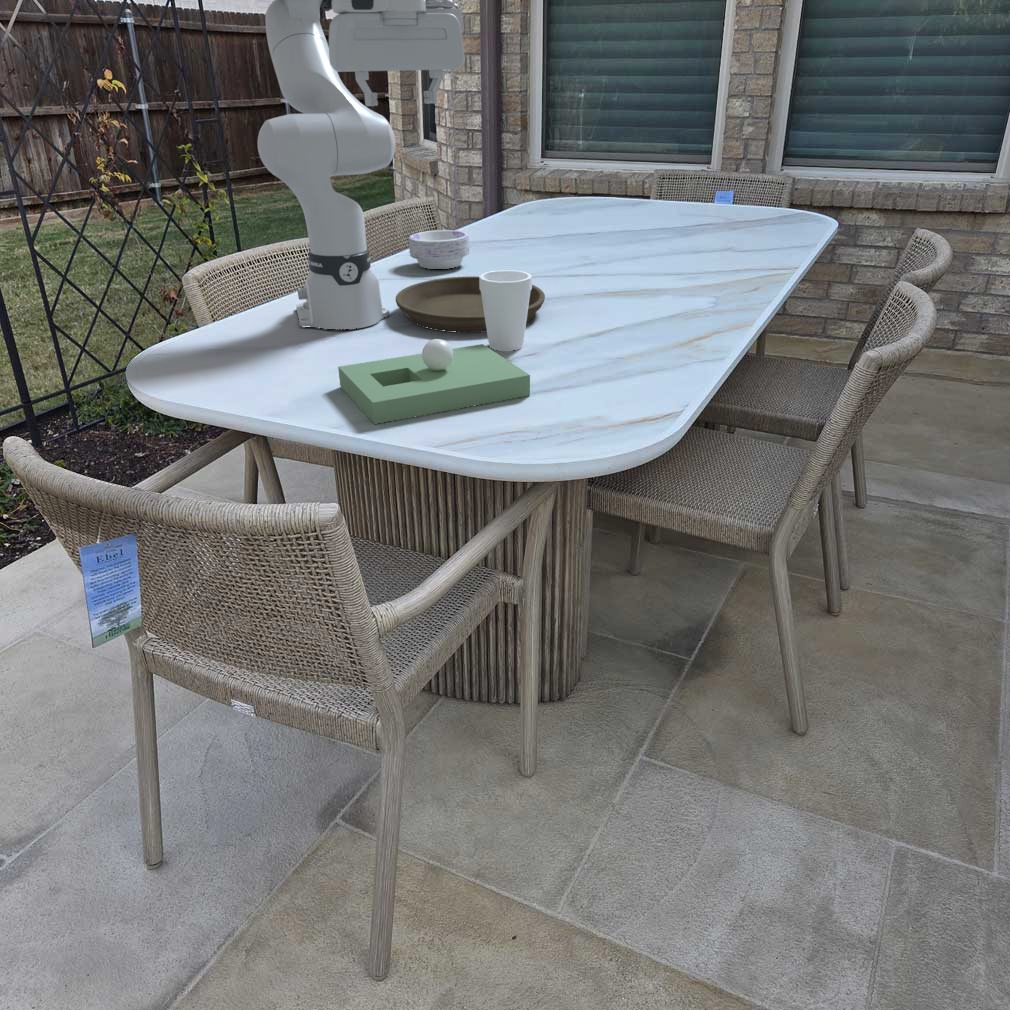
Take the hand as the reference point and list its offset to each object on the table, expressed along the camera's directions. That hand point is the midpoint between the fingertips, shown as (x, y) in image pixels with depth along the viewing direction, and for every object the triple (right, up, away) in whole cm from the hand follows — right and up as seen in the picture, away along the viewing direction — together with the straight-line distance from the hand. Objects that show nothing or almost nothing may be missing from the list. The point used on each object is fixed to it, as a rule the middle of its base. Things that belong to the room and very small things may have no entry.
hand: (401, 104), depth 129 cm
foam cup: (+16, -31, +31) cm, 46 cm away
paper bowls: (-1, 0, +89) cm, 89 cm away
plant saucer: (+8, -21, +50) cm, 55 cm away
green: (+4, -42, +10) cm, 43 cm away
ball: (+5, -37, +7) cm, 38 cm away
